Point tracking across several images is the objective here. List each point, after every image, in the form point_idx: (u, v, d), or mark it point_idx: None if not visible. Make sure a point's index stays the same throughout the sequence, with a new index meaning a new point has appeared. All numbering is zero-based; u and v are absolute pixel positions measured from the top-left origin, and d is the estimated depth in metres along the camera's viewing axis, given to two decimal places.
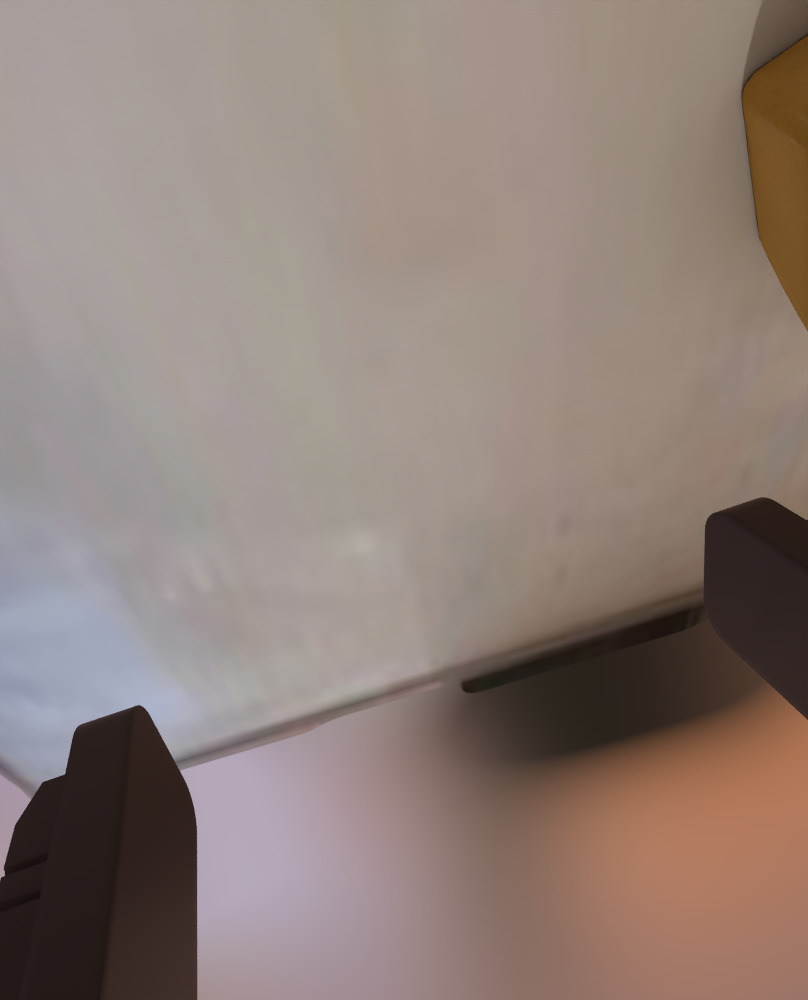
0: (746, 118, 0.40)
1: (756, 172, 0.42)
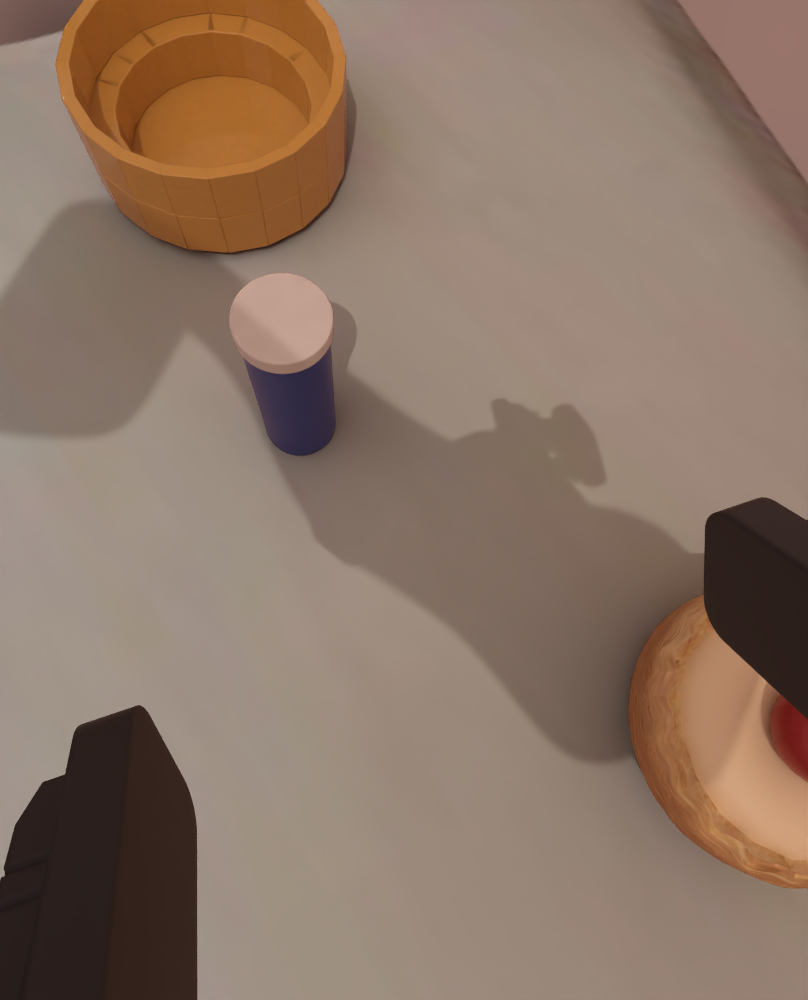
0: None
1: None
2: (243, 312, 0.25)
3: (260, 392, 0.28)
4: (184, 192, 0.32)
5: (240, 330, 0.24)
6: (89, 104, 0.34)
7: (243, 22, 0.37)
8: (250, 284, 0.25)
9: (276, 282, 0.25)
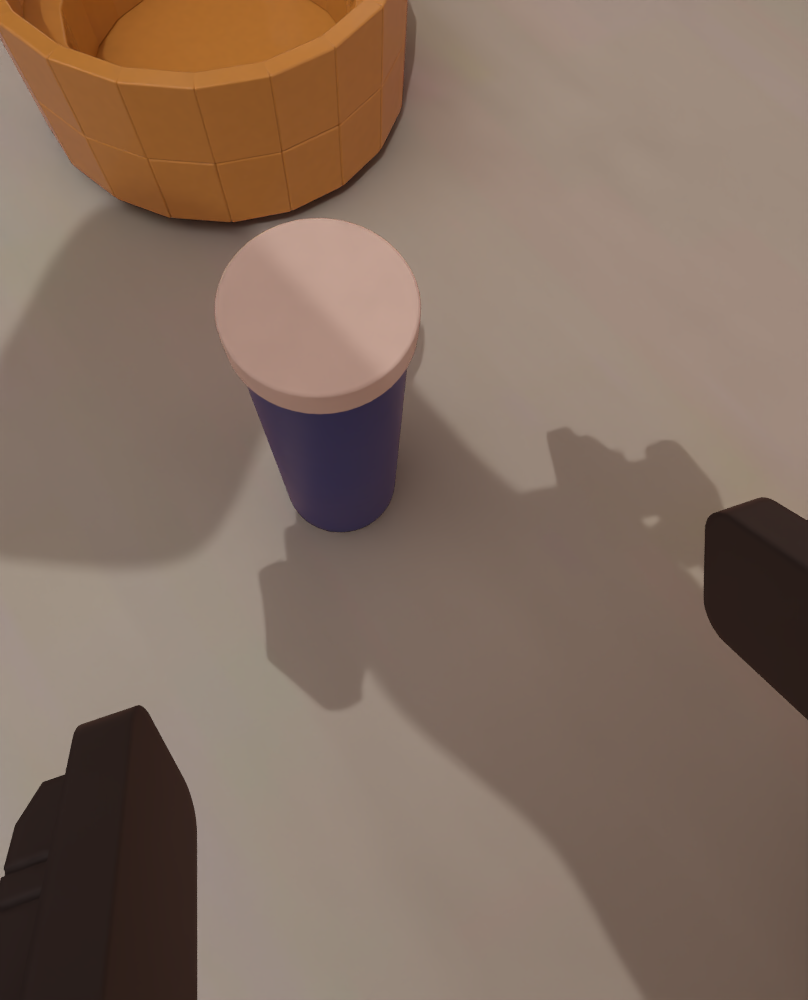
0: None
1: None
2: (243, 293, 0.12)
3: (277, 443, 0.15)
4: (157, 116, 0.20)
5: (237, 328, 0.12)
6: None
7: None
8: (257, 239, 0.13)
9: (308, 235, 0.13)
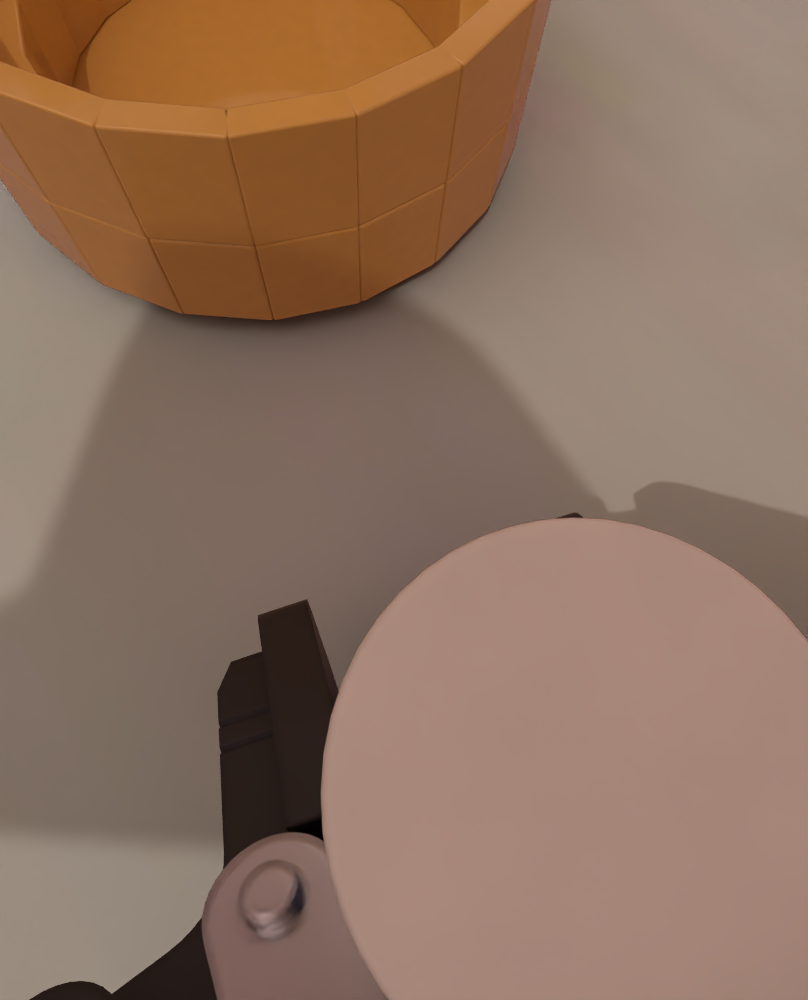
0: None
1: None
2: (399, 762, 0.05)
3: None
4: (163, 178, 0.12)
5: (389, 885, 0.04)
6: None
7: None
8: (425, 588, 0.05)
9: (555, 574, 0.05)
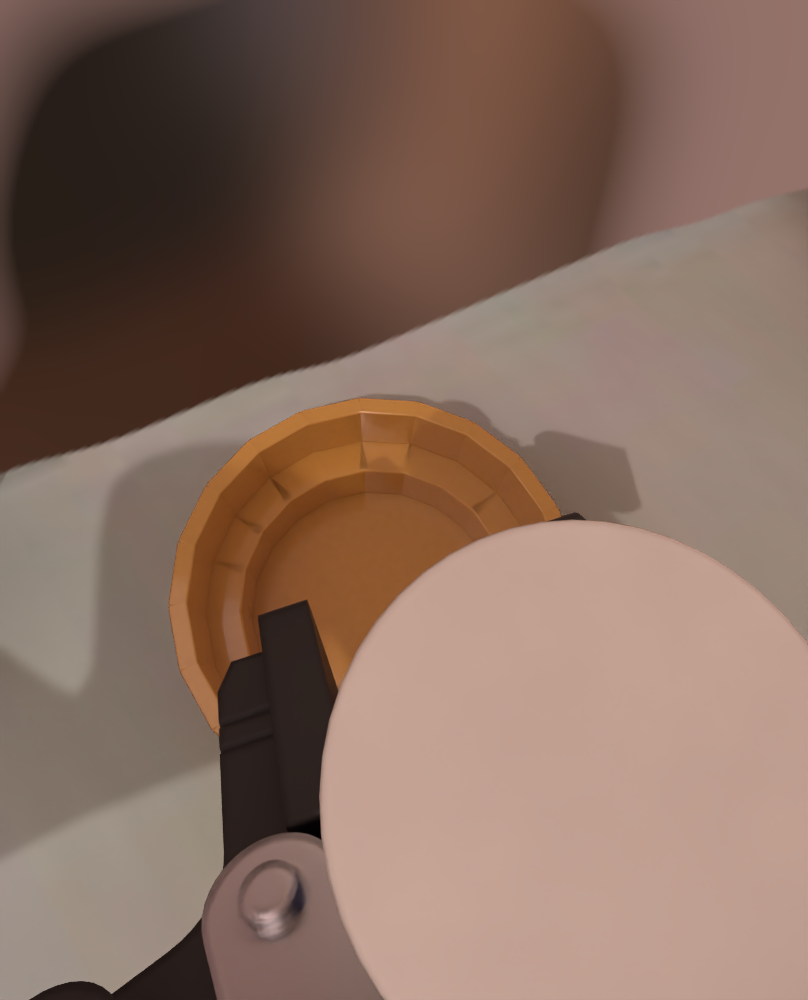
0: None
1: None
2: (398, 765, 0.05)
3: None
4: None
5: (388, 889, 0.04)
6: (206, 608, 0.24)
7: (407, 453, 0.27)
8: (425, 590, 0.05)
9: (554, 577, 0.05)
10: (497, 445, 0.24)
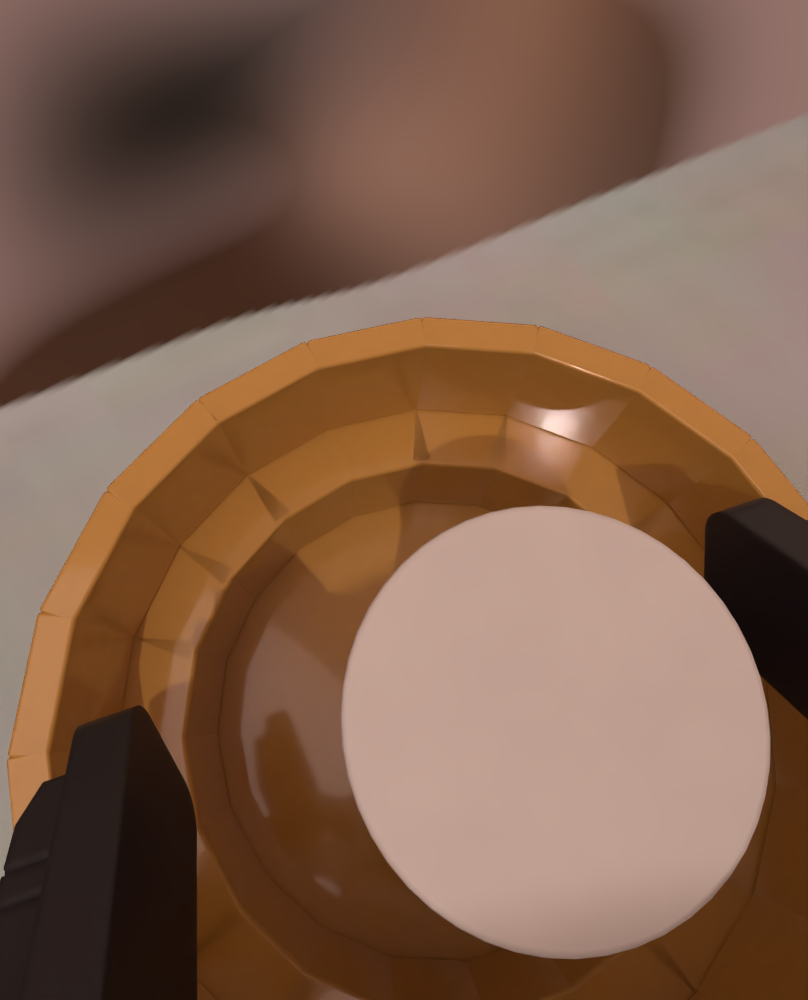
0: None
1: None
2: (401, 693, 0.06)
3: None
4: None
5: (393, 784, 0.06)
6: None
7: (500, 432, 0.15)
8: (422, 560, 0.06)
9: (524, 550, 0.06)
10: (703, 412, 0.12)
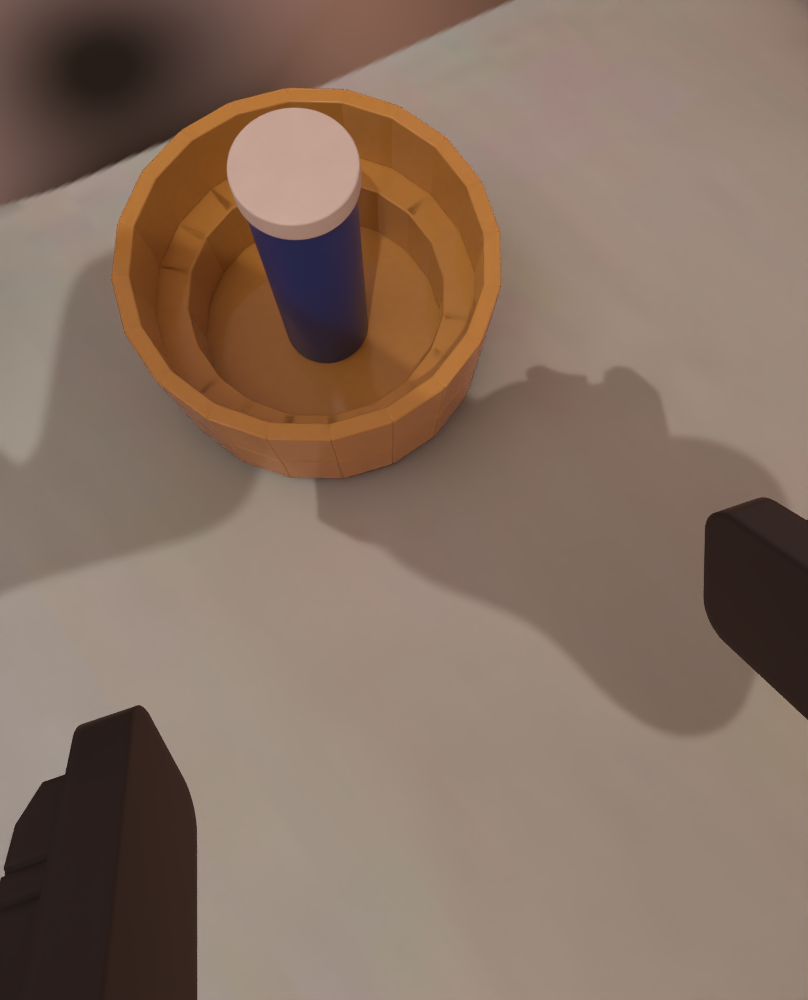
0: None
1: None
2: (244, 160, 0.19)
3: (274, 275, 0.22)
4: (295, 448, 0.23)
5: (242, 183, 0.19)
6: (154, 306, 0.26)
7: None
8: (251, 124, 0.19)
9: (284, 120, 0.19)
10: (422, 126, 0.25)
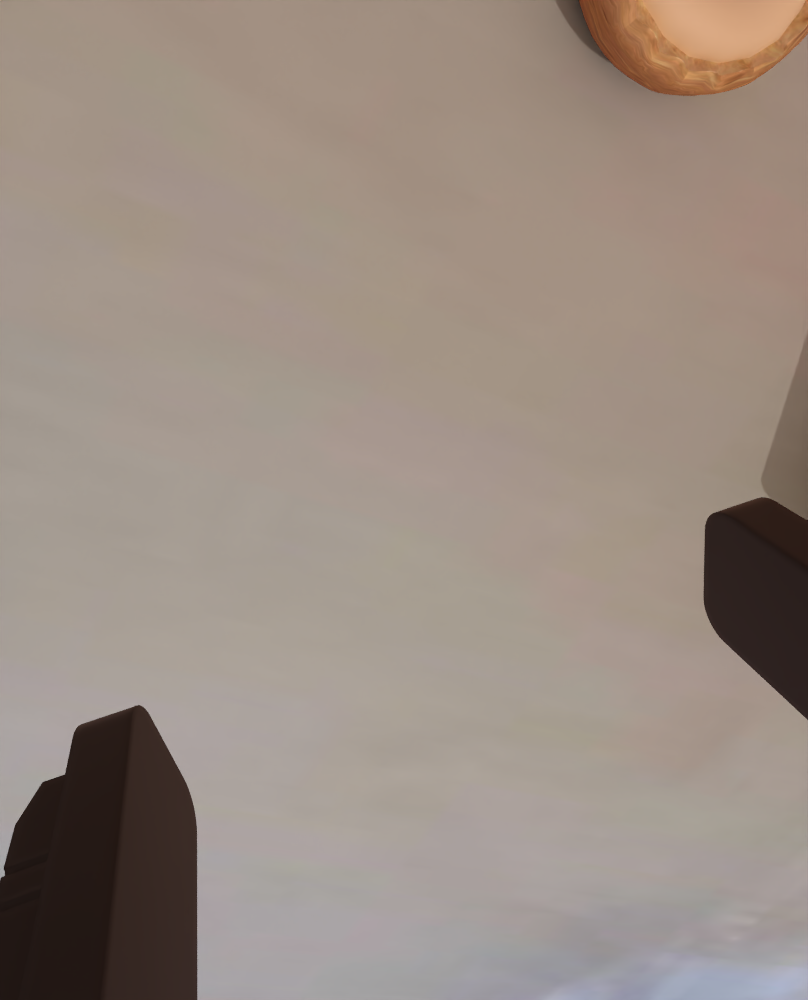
0: None
1: None
2: None
3: None
4: None
5: None
6: None
7: None
8: None
9: None
10: None
